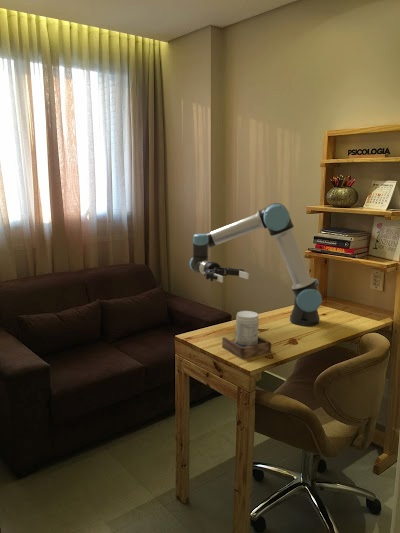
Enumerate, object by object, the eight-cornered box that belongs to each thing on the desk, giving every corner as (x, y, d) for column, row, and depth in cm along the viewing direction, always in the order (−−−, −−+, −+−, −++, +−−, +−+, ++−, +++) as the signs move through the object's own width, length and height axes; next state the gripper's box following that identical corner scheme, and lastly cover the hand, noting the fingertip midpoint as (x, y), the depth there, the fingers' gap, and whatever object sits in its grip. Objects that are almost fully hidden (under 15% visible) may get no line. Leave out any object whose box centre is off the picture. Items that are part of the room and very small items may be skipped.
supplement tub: (235, 341, 202) (236, 310, 199) (257, 343, 201) (258, 311, 198) (235, 350, 193) (236, 316, 190) (257, 351, 192) (258, 317, 189)
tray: (249, 341, 207) (250, 332, 206) (270, 352, 194) (271, 342, 193) (222, 347, 200) (222, 337, 199) (241, 359, 187) (242, 348, 186)
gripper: (231, 274, 224) (257, 283, 206) (187, 279, 212) (210, 289, 194) (232, 259, 223) (258, 267, 205) (187, 263, 211) (211, 272, 193)
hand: (235, 277), depth 199 cm, fingers open, 13 cm apart
